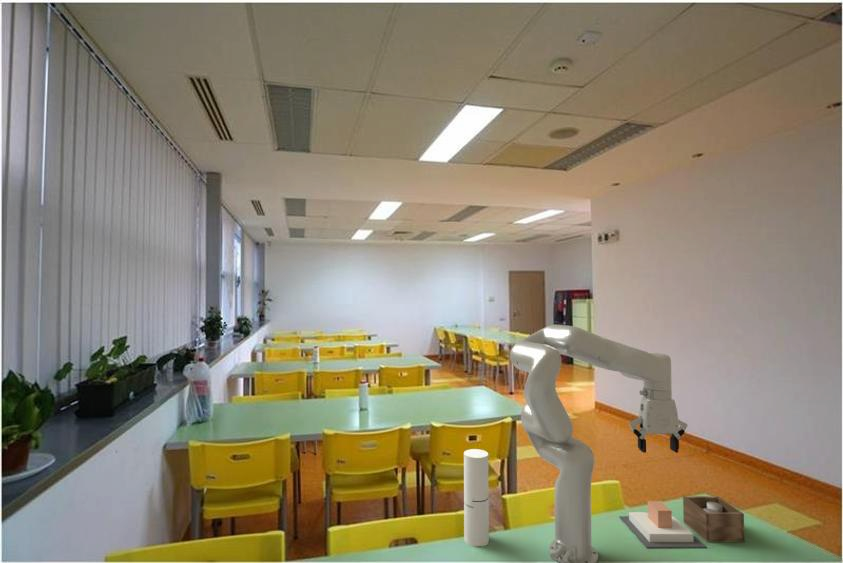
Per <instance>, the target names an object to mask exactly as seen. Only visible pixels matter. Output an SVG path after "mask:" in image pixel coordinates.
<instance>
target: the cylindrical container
mask: <svg viewBox="0 0 843 563" xmlns="http://www.w3.org/2000/svg"><path fill="white" fill-rule="evenodd" d="M489 492H490V491H489V453H488V452H487V451H486V450H484V449H479V448H478V449H477V448H470V449H467V450H464V452H463V503H464V504H463V515H464V516H463V520H464V521H463V527H464V528H463V534H464V535H463V538H464V543H465V544H467V543H468V544H467V545H469V546H471V545H472V546H471V547H475V546H481V547H484V546H483V545H485V544H487V543H488V544H489V542H490V532H489V531H490V529H489V528H490V527H489V526H490V524H489V522H490V517H489V515H490V514H489V509H490V508H489V506H490V505H489V495H490V494H489ZM488 541H489V542H488ZM488 544H487V545H488ZM485 546H486V545H485Z"/></svg>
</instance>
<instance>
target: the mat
mask: <svg viewBox="0 0 843 563" xmlns="http://www.w3.org/2000/svg"><path fill="white" fill-rule="evenodd" d="M619 517H620V518H619ZM618 518H619V519H620V521H621V522H623V524H624V523H625V524H626V525H627V526H628V527H629V528H628V527H627V526H626V525H625V524H624V525H625V526H626V527H627V528H628V529H629V530H630V531H631V533H632V534H633V533H634V534H635V535H636V536H637V537H636V536H635V535H634V534H633V535H634V536H635V537H636V538H637V539H638V541H639V542H640V543H641V544H642V543H643V544H642V545H643V546H644V548H646V549H707V545H706V544H704V543H703V542H702V541H701V540H700V539H699V538H697V536H695V534H693V539H694V542H649V541H648V540H647V539H646V538H645V536H644V535H643V534H642V533H641V532H640V531H639V530H638V529H637V528H636V527H635V526H634V524H633V523H632V522H631V521H630V520H629V515H628V516H627V515H624V516H623V515H621V516H620V515H619V516H618Z"/></svg>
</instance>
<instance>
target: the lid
mask: <svg viewBox="0 0 843 563" xmlns="http://www.w3.org/2000/svg"><path fill="white" fill-rule="evenodd" d="M672 514H673V511H672V510H671V508H669V507H668V506H667V505H666V504H664V502H662V501H661V500H659V501H658V500H648V501H647V512H646V511H643V512H640V511H639V512H637V511H634V512H633V511H630V512H629V511H628V516H629V520H630V521H631V522H632V523H633V524H634V526H635V527H636V528H637V529H638V530H639V531H640V532H641V533H642V534H643V535H644V536H645V538H646V539H647V540H648V541H649V542H694V539H693V535H694V533H693V532H692V531H691V530H689V528H687V527H686V526H685V525H684V523H682V522H680V521H679V520H678V519H677V518H676V517H675V516H674V515H672Z"/></svg>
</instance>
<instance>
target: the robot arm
mask: <svg viewBox="0 0 843 563" xmlns="http://www.w3.org/2000/svg"><path fill="white" fill-rule="evenodd" d="M509 355H510V356H509V358H510V362H511V364H512V366H514V367H515V368H516V369H517V370H519V371H522V372H525V373H528V376H527V378H526V381H525V385H524V389H523V396H524V399H525V402H526V403H525V404H524V405H523V407H522V409H521V413H520V422H521V424H522V427H523V430H524V431H525V433H526V435H527V437H528V439H529V441H530V442H531V444H532V447H534V449H535V451H536V453H537V454H538V456H539V457H540V458H541V459H542V460H544V461H545V462H547V463H548V464H550V465H552V466H554V467H555V468H556V469H558V470H559V474H558V477H557V478H556V481H555V484H554V534H555V535H554V536H555V537H554V538H555V539H554V540H553V541H551V542H550V544H549V553H550V555H549V556H550V559H551V560H552V561H553V562H555V561H557V562H559V563H598V561H599V555H598V554H599V553H598V551H597V550H596V549H595V548H594V547H593V545H592V543H593V542H592V540H593V538H592V537H593V536H592V477H593V472H594V467H595V462H596V461H595V454H594V453H593V450H592V449H591V447H590V446H588V444H586V443H585V442H583V441H582V440H580V439H578V438H576V437H573V433H574V426H573V422H572V419H571V418H570V415H569V414H568V412H567V411H566V408H565V406H564V405H563V403H562V401H561V399H560V397H559V394H558V393H557V390H556V382H557V378H558V376H559V373H560V371H561V368H562V363H563V362H562V356H561V355H563V356H567V357H570V358H573V359H575V360H577V361H580V362H584V363H586V364H588V365H590V366H591V365H592V366H594V367H597V368H601V369H604V370H608V371H612V372H619V373H620V374H621V375H622V376H624V377H626V378H628V379H633V380H637V381H643V388H642V390H639V395H640V396H643V397H641V400H640V404H639V414H638V417H637V418H636V419H633V420H631V421H630V422H628V425H629V427H630V430H631V432H632V433H633V434H634V435H635V437H637V448H638V450H639V451H640V452H642V453H643V454H644V453H647V440H646V439H645V438H646V436H648V434H650V435H670V437H669V449H670V450H671V451H673V452H675V453H677V454H678V453H679V449H680V440H681V439H682V438H681V437H682V436H683V435H684V434H685V432H686V429H687V427H688V423H686V422H684V421H682V420H680V419H679V417H678V414H679V413H678V408H677V404H676V402H675V399H673V397H672V396H673V394H672V359H671V357H670V356H669V355H668V354H666V353H657V352H648V351H645V350H641V349H639V348H636V347H632V346H629V345H626V344H623V343H620V342H617V341H615V340H611V339H608V338H605V337H603V336H601V335H597V334H595V333H593V332H590V331H587V330H585V329H583V328H580V327H577V326H573V325H567V324H566V325H565V324H550V325H548V326H545V327H543V328H542V329H539V330H537V331H535V332H534V333H531V334H530V335H528V336H526V337H524V338H523V339H521V340H519V341H517V342H516V343H515V344H514V345H513V346H512V348H511V350H510V354H509ZM637 426H638V427H639V429H638V428H637Z"/></svg>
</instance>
